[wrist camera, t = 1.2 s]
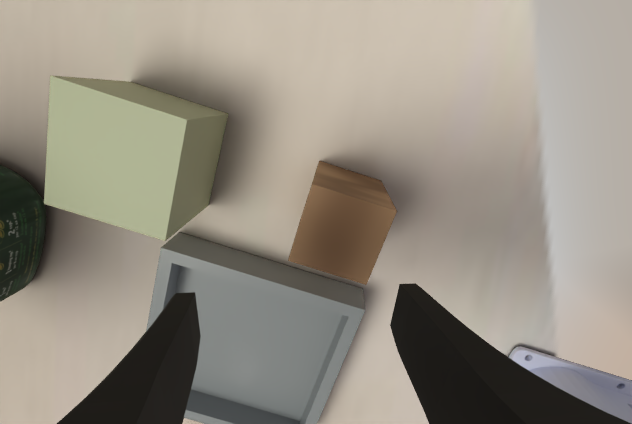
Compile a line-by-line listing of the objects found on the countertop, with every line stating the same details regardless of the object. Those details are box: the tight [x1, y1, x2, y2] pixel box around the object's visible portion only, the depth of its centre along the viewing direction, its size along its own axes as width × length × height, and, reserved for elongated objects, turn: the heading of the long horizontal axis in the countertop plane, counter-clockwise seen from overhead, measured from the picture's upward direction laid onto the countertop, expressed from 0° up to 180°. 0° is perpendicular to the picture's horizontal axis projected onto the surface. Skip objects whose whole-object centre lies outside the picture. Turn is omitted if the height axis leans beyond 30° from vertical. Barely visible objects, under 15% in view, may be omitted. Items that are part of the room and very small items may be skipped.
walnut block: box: [288, 161, 397, 285], centre depth 19 cm, size 4×4×6 cm
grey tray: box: [146, 232, 365, 424], centre depth 24 cm, size 13×13×2 cm
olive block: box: [44, 76, 228, 241], centre depth 18 cm, size 6×6×6 cm
